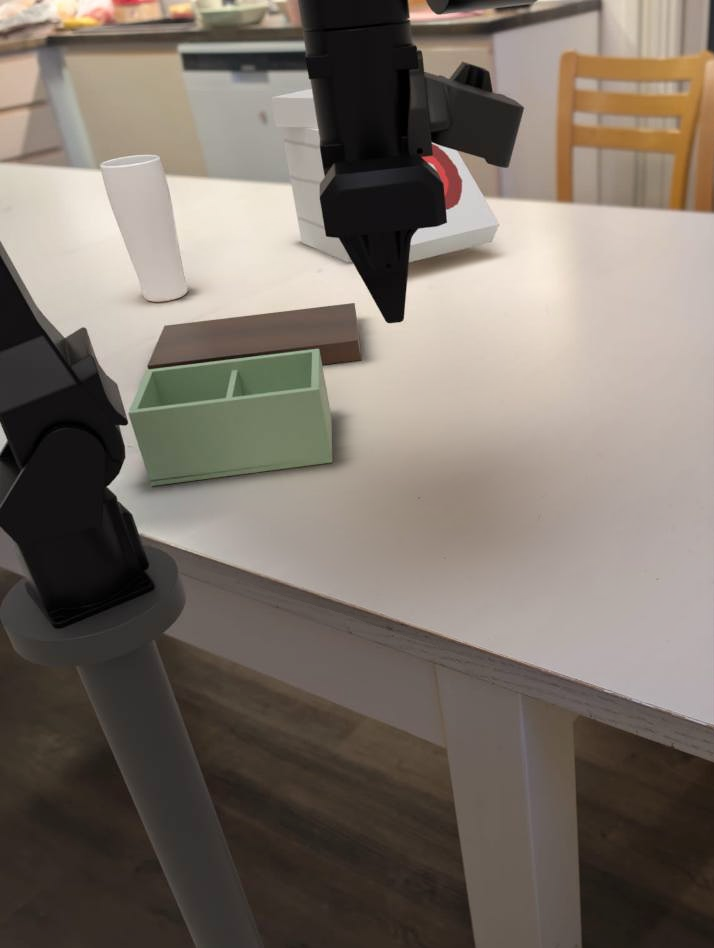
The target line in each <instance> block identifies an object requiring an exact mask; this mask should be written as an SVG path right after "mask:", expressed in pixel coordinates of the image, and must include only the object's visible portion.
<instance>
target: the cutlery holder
mask: <svg viewBox="0 0 714 948" xmlns="http://www.w3.org/2000/svg"><path fill="white" fill-rule="evenodd" d="M127 415H128V418H129V421H130V424H131V427H132V430H133V433H134V436H135V440H136V442H137V443H136V444H137V447H138V449H139V452H140V455H141V458H142V462H143V464H144V468H145V470H146V473H147V477H148V481H149V483H150V487H154V486H162V485H170V484H179V483H185V482H193V481H194V482H195V481H200V480H207V479H208V480H209V479H216V478H224V477H231V476H240V475H246V474H254V473H261V472H262V473H263V472H270V471H277V470H286V469H294V468H300V467H308V466H316V465H323V464H330V463H333V461H334V460H333V422H332V421H333V419H332V418H333V417H332V411H331V405H330V400H329V395H328V389H327V385H326V378H325V372H324V367H323V365H322V361H321V356H320V350H319V349H312V350H303V351H295V352H287V353H279V354H271V355H263V356H255V357H246V358H238V359H230V360H222V361H214V362H206V363H198V364H189V365H181V366H173V367H165V368H157V369H149V370H148V369H146V370H145V373H144V375H143V377H142V380H141V382H140V384H139V387H138V389H137V391H136V392H135V395H134V398H133V401H132V402H131V405H130V407H129V410H128V412H127Z"/></svg>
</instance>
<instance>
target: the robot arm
mask: <svg viewBox="0 0 714 948" xmlns="http://www.w3.org/2000/svg"><path fill="white" fill-rule="evenodd" d="M425 1H426V4H427V5H428V7H429V9H430V10H431V11H432V12H433V13H434V14H435V15H437V16H439V15H440V16H441V15H447V14H449V15H450V14H457V13H465V12H474V11H481V10H492V9H499V8H507V7H517V6H525V5H532V4H535V3H536V2H538V1H539V0H425ZM297 4H298V11H299V18H300V24H301V29H302V36H303V43H304V49H305V63H306V68H307V77H308V80H310V86H311V89H312V93H313V99H314V106H315V112H316V118H317V125H318V131H319V137H320V152H321V158H322V165H323V170H324V176H325V177H324V179H323V180H322V182H321V183H320V204H321V210H322V216H323V222H324V228H325V234H326V237H333V238H339V240H340V241H341V243H342V245H343V246H344V248H345V250H346V252H347V253H348V255H349V257H350V259H351V260H352V262H351V263H352V264H353V265H354V268H355V269H356V271H357V273H358V274H359V276H360V278H361V280H362V282H363V283H364V285H365V287H366V289H367V291H368V293H369V294H370V296H371V298H372V300H373V301H374V303H375V305H376V307H377V308H378V310H379V312H380V314H381V316H382V317H383V319H384V321H385V322H386V323H387V324H396V323H402V322H403V321H404V320H405V313H406V312H405V311H406V302H407V301H406V299H407V287H408V275H409V265H410V262H409V255H410V245H411V239H412V236H413V235H414V233H415V232H416V231H417V230H418V229H420V228H429V227H437V226H440V225H443V224H445V223H447V216H446V205H445V194H444V184H443V182H442V180H441V178H440V176H439V174H438V172H437V171H436V170H435V169H434V168H433V167H432V166H431V165H429V164H428V163H427V162H426V161H425V160H424V159H423V158H422V157H427V156H433V151H432V143H435V144H437V145H440V146H443V147H446V148H450V149H453V150H457V151H458V152H460V153H464V154H468V155H471V156H475V157H478V158H481V159H484V160H485V162H486V164H488V165H492V166H494V167H499V168H503V169H508V168H509V167H510V164H511V160H512V156H513V153H514V150H515V144H516V141H517V137H518V133H519V129H520V127H521V122H522V118H523V114H524V110H525V107H524V106H523V104H522V103H521V104H520V103H519V102H518V101H517V100H515V99H513V98H511V97H508V96H506V95H504V94H502V93H496V92H494V90H493V85H492V84H493V83H492V79H491V78H492V77H491V73H490V71H489V70H487V69H486V68H484V67H481V66H478V65H476V64H472V63H468V62H466V61H462V62H460V64H459V65H458V67H457V68H456V69H455V71H454V72H453V73H452V74H451V76H450V77H449V78H448V77H446V76H445V75H441V74H440V75H437V74H433V73H430V72H427V71H425V66H424V58H423V56H424V55H423V51H422V50H421V49H418V46H417V45H416V44H415V43H414V42H413V34H412V25H411V19H410V18H411V14H410V5H409V0H297ZM127 425H129V420H128V416H127V413H126V409H125V406H124V402H123V399H122V395H121V392H120V389H119V386H118V383H117V382H116V381H114V379H112V378H111V376H109V375H108V374H107V373H106V372H105V371H104V369H103V368H102V366H101V365H100V363H99V360H98V358H97V356H96V354H95V350H94V347H93V345H92V342H91V337H90V335H89V332H88V329H87V328H86V327H84V326H82V327H80V328H79V329H77V330H75V331H74V332H72V333H71V334H69V335H67V336H66V337H65V336H64V335H63V334H62V333H61V332H60V331H59V330H58V328H56V326H55V325H53V324H52V322H51V321H50V320H49V319H48V318H47V317H46V316H45V314H44V313H43V312H42V311H41V310H40V308H39V306H38V305H37V304H36V302H35V300H34V299H33V297H32V295H31V293H30V291H29V290H28V288H27V286H26V284H25V282H24V280H23V279H22V278H21V276H20V274H19V272H18V270H17V268H16V266H15V264H14V262H13V261H12V259H11V258H10V256H9V254H8V252H7V250H6V248H5V247H4V244H3V242H2V241H1V240H0V426H1V428H2V432H3V433H4V436H5V439H6V442H5V443H4V445H3V447H2V448H1V450H0V528H1V529H2V530H3V531H4V532H5V533H6V535H7V538H8V539H9V543H10V544H11V546H12V548H13V549H12V550H13V552H14V553H15V556H16V558H17V560H18V562H19V565H20V568H21V569H22V572H23V574H24V577H25V576H26V579H27V582H26V583H25V587H26V590H27V592H28V593H29V594H30V596H31V597H32V599H33V600H34V601H35V603H36V604H37V605H38V607H39V608H40V610H41V611H42V612H43V614H44V615H45V617H46V618H47V619H48V621H49V622H50V623H51V625H52V626H53V627H54V628H55V629H61V628H64V627H67V626H69V625H71V624H74V623H76V622H79V621H81V620H83V619H86V618H88V617H91V616H93V615H96V614H98V613H100V612H103V611H105V610H108V609H110V608H112V607H115V606H117V605H120V604H122V603H125V602H127V601H129V600H132V599H134V598H137V597H139V596H141V595H144V594H146V593H149V592H151V591H153V590H154V589H155V586H154V583H153V580H152V579H151V578H150V577H149V576H148V575H147V574H146V573H145V572H144V571H145V570H147V569H148V567H149V562H148V559H147V556H146V554H145V551H144V548H143V545H144V544H143V543H142V539H141V536H140V533H139V530H138V527H137V523H136V522H135V518H134V515H133V513H131V511H129V510H128V509H127V508H126V507H125V505H123V504H122V503H121V502H120V501H119V500H118V498H117V495H116V494H115V493H114V492H113V491H112V490H111V489H110V488H109V486H110V485H111V484H112V483H113V481H114V480H115V479H116V478H117V477H118V476H119V474H120V473H121V470H122V467H123V465H124V463H125V460H126V457H127V456H126V445H125V442H124V438H123V434H122V430H121V427H123V426H124V427H125V426H127Z"/></svg>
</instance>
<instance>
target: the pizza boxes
mask: <svg viewBox="0 0 714 948" xmlns="http://www.w3.org/2000/svg"><path fill="white" fill-rule="evenodd" d="M270 102H271V106H272V114H273V118H274V124H275V127H280V129H281V135H282V140H283V146H284V151H285V156H286V157H285V158H286V162H287V169H288V174H289V179H290V184H291V185H290V186H291V189H292V196H293V201H294V207H295V212H296V217H297V222H298V223H297V224H298V229H299V234H300V240H301V244H304V245H306V246H308V247H311V248H313V249H315V250H318V251H320V252H322V253H325V254H327V255H329V256H331V257H333V258H336V259H339V260H341V261H344V262H346V263H353V262H352V260H351V259H350V257H349V255H348V253H347V252H346V250H345V248H344V246H343V245H342V243H341V241H340V240H339V238H333V237H326V234H325V228H324V222H323V216H322V210H321V204H320V183H321V182H322V180H323V179H324V177H325V176H324V170H323V165H322V158H321V152H320V137H319V131H318V125H317V118H316V112H315V106H314V99H313V93H312V88H308V89H303V90H298V91H294V92H291V93H286V94H281V95H276V96H271V97H270ZM432 151H433V156H427V157H422V158H423V159H424V160H425V161H426V162H427V163H428V164H429V165H431V166H432V167H433V168H434V169H435V170H436V171H437V172H438V174H439V176H440V178H441V180H442V182H443V184H444V194H445V205H446V216H447V223H445V224H443V225H440V226H437V227H429V228H420V229H418V230H417V231H416V232H415V233H414V235H413V236H412V239H411V245H410V255H409V263H412V262H416V261H420V260H425V259H429V258H434V257H436V256H437V257H438V256H440V255H446V254H449V253H454V252H458V251H462V250H465V249H470V248H473V247H477V246H481V245H486V244H489V243H492V242H493V240H494V237H495V235H496V233H497V231H498V229H499V227H500V222H499V220H498V219H497V217H496V215H495V214H494V211H493V210H492V208H491V206H490V205H489V203H488V202H487V200H486V198H485V196H484V195H483V192H481V191H482V190H481V189H480V187H479V185H478V184H477V182H476V181H475V179H474V177H473V176H472V174H471V172H470V170H469V169H468V167H467V166H466V164H465V162H464V159H463V158H462V156H461V155H460V153H459V151H457V150H453V149H450V148H446V147H443V146H440V145H437V144H435V143H432Z"/></svg>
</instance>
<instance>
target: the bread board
mask: <svg viewBox="0 0 714 948" xmlns="http://www.w3.org/2000/svg"><path fill="white" fill-rule="evenodd" d="M359 332H360V331H359V323H358V316H357V310H356V303H355V302H350V303H343V304H342V303H340V304H333V305H326V306H325V305H324V306H318V307H308V308H301V309H292V310H283V311H277V312H275V311H274V312H267V313H259V314H250V315H241V316H233V317H226V318H217V319H208V320H201V321H199V320H198V321H192V322H183V323H175V324H167V325H164V326H163V328H162V330H161V333H160V334H159V337H158V340H157V342H156V345H155V347H154V349H153V351H152V354H151V356H150V359H149V360H148V363H147V366H146V367H147V370H149V369H157V368H165V367H173V366H181V365H189V364H198V363H206V362H214V361H222V360H230V359H238V358H246V357H255V356H263V355H271V354H279V353H287V352H295V351H303V350H312V349H319V350H320V356H321V361H322V366H325V365H332V364H333V365H334V364H340V363H348V362H357V361H362V355H361V344H360V343H361V342H360V334H359Z"/></svg>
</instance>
